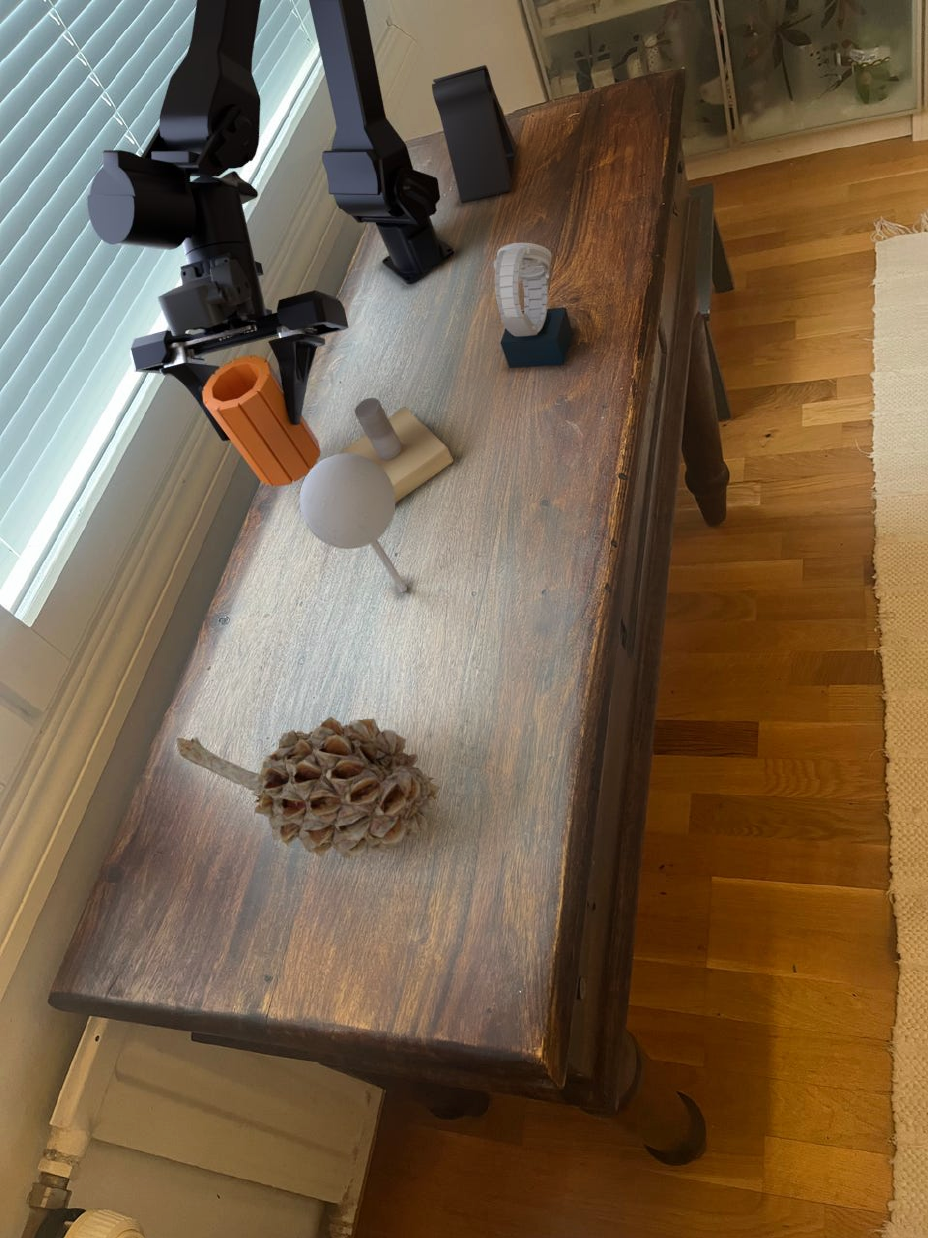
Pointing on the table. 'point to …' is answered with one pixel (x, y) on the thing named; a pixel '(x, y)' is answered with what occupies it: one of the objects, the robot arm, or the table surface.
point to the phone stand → (475, 133)
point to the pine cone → (334, 787)
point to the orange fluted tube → (260, 420)
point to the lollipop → (350, 505)
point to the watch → (529, 308)
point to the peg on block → (399, 446)
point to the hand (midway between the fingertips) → (260, 432)
